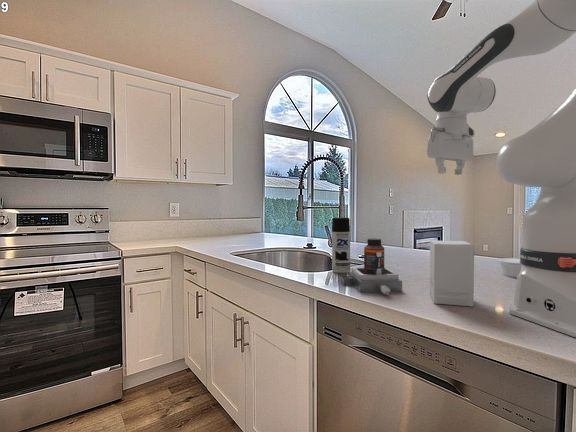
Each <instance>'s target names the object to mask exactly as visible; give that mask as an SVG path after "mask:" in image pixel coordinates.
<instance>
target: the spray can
mask: <svg viewBox="0 0 576 432" xmlns="http://www.w3.org/2000/svg"><path fill="white" fill-rule="evenodd" d="M331 221H332V222H331V254H332V255H331V261H332V262H331V265H332V269H331V270H332V272H333V273H334V274H349V272H350V271H352V267H351V225H350V224H351V223H350V217H332V220H331Z"/></svg>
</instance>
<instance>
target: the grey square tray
mask: <svg viewBox="0 0 576 432" xmlns="http://www.w3.org/2000/svg"><path fill="white" fill-rule="evenodd" d="M340 279H341V280H340V282H341V284H342V286H354V287H355V289H356V290H357V291H358V292H359V293H382V294H383V295H385V296H388V295H390V294H391V293H395V292H399V293H401V292H403V280H401V279H400V278H399V273H397V272H395V271H393V270H391V269H390V268H388V267H385V266H384V274H364V267H351V270H350V272H349V273H348V275H341V278H340Z"/></svg>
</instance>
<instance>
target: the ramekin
mask: <svg viewBox="0 0 576 432" xmlns="http://www.w3.org/2000/svg"><path fill="white" fill-rule="evenodd" d="M498 263H499V264H500V270H501V274H503V275H504V276H505V277H509V278H515V279H517V276H518V275H519V273H520V271H521V268H522V264H521V263H520V257H519V258H517V257H515V258H514V257H504V258H503V257H502V258H499V260H498Z"/></svg>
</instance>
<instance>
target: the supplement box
mask: <svg viewBox="0 0 576 432" xmlns="http://www.w3.org/2000/svg"><path fill="white" fill-rule="evenodd" d="M474 278H475V245H474V244H472V243H470V242H468V241H465V240H436V239H434V240H430V241H429V296H430V298H431V300H432V302H433V304H436V305H437V304H439V305H446V306H447V305H451V306H461V307H462V306H463V307H471V308H472V307H474V303H475V301H474V293H475V292H474V291H475V287H474V286H475V285H474V284H475V283H474V282H475V281H474V280H475V279H474Z"/></svg>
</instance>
